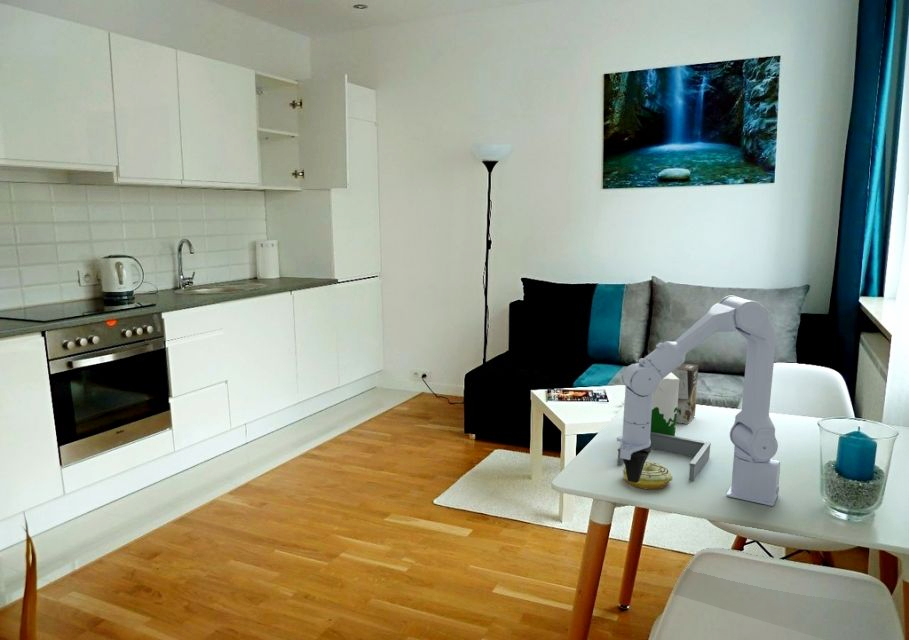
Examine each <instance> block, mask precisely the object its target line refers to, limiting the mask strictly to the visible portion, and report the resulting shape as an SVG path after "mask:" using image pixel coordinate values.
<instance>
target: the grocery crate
mask: <svg viewBox="0 0 909 640" xmlns="http://www.w3.org/2000/svg"><path fill="white" fill-rule="evenodd" d="M650 441H651V445H650V447H648V448H650V449H651V450H656V449H657V450H656V451H663V452H667V453H673V454H677V455H682V456H689V457H692V459H691V461H690V462H689V475H688V476H689V477H688V480H689V481H691V482H694V481H695V480H696V478H697V476H698V475H699V474H700V472H701V471H702V469H703V468H704V466H705V465H706V464H707V462H708V461H709V459H710V456H711V455H710V454H711V453H710V452H711V445H712V442H708V441H703V440H697V439H693V438H688V437H681V436H676V435H675V436H671V435H665V434H660V433H654V432H650ZM621 448H622V446H621V445H620V446H619V447H618V448H617V466H620V467H621V466H623V465H625V464H624V461H623V459H622V458H620V449H621Z"/></svg>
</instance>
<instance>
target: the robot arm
mask: <svg viewBox="0 0 909 640" xmlns="http://www.w3.org/2000/svg"><path fill="white" fill-rule="evenodd" d="M770 312H771V311H770V310H768V309H767V308H766V307H765V306H764V305H763V304H761V303H760V302H759V301H756V300H750V299H745V298H742V297H739V296H736V295H733V294H732V295H727V296H725V297H723V298H722V299H720V301H719V302H717V303H715V304H713V305H712V306H711V307H710V309H709V310H708V311H707V312H706V313H705V314H704V315H703V316H702V317H701V318H699V320H697V321H696V322H695V323H694V324H693V325H692V326H690V328H688V329H687V330H686V331H685V332H684V333H682V334H681V335H680V336H679V337H677V339H675V341H669V340H667V341H666V340H665V341H664V342H661V341H660V342H658V343H657V344H656V345H655V349H654V350H653V351H651V352H650V353H649V354H647V355H646V356H645V357H644V358H642V357H641V358H639V359H638V363H631V364H630V365H628V366H627V367H626V368H625V369H624V372H623V374H622V375H621V381H622V383H623V385H624V386H625V389H624V391H625V392H624V401H623V402H624V403H623V419H622V435H618V436H617V437H616V441H617V442H620V443H621V445H620V447H621V446H622V448H621V449H620V458H622V459H623V461H624V464H623V465H624V466H625V468H626V473H627V479H628V481H631V482H635V483H637V482H638V481H639V479H640V477H641V473H642V470H643V466H644V463H645V462H647V461H646V460H647V459H648V457H649V455H650V453H651V451H652V449H651V448H648V447H650V445H651V441H650V430H651V414H652V396H653V392H655V391H656V390H657V388H658V385H659V382H660V381H661V380H662V379H663V378H664V377H666V376H667V375H668V374H670V373H671V372H672V371H673V370H675V369H676V368H677V367H679V366H680V365H681V364H685V359H686V355H687V353H689V352H690V351H692V350H693V349H695V348H696V347H697V346H699V345H701V344H702V343H703V342H704V341H706V340H708V339H709V338H711V337H712V336H713V335H715V334H716V333H725V332H727V333H729V332H738V333H739V334H740V335H742V336H743V337H744V338H745V340H747V344H746V345H747V346H746V357H745V368H744V380H743V390H742V391H743V392H742V402H741V410H740V411H739V412H738V413H737V414H736V415H735V417H734V422H733V425H732V427H731V428H730V432H729V439H730V441H731V443H732V445H734V447H733V448H734V449H733V460H732V461H733V462H732V463H733V464H732V474H731V475H732V476H731V483H730V484H731V485H730V486H729V489H728V490H727V491H726V493H725V495H726V497H730V498H734V499H738V500H742V501H743V500H744V501H747V502H752V503H757V504H762V505H766V506H770V507H774V505H775V503H776V500H777V497H778V495H779V492H780V486H779V483H780V473H781V461H780V460H776V459H773V457H774V456H775V455H776V454H777V452H778V448H779V445H778V440H777V438H776V428H775V425H774V423H773V421H772V419H771V417H770V407H771V405H770V404H771V396H772V388H773V387H772V383H773V376H774V375H773V374H774V373H773V372H774V366H775V365H774V364H775V354H776V344H777V343H776V342H777V332H776V330H775V328H774V325H773V323H772V321H771V319H770Z"/></svg>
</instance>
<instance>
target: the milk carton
mask: <svg viewBox="0 0 909 640" xmlns="http://www.w3.org/2000/svg"><path fill="white" fill-rule="evenodd" d="M679 380H680V379H679V378H677V377H676V376H675V375H674V374H673V373H670V374H668V375H667V376H666V377H664V378H663V379H662V380H661V381H660V382H659V385H658V388H657V390H656V391H655V392H653V396H652V414H651V430H650V432H654V433H660V434H665V435H671V436H676V429H677V422H676V420H677V405H678V390H679Z"/></svg>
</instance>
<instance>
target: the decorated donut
mask: <svg viewBox="0 0 909 640" xmlns="http://www.w3.org/2000/svg"><path fill="white" fill-rule="evenodd" d="M622 473H623V476H624V477H623V478H624V479H625V480H626V482H627V483H628V484H630V485H631V486H633V485H634V487H636V486H637V487H636V488H639V487H641V488H640V489H644V488H647V489H646V490H658V488H660V489H663V488H665V487H666V486H667V485H668V484H669V483H670V482H671V481H672V480H673V475H672V473H671V471H670V470H669V469H668V467H666V466H664V465H662V464H660V463H659V462H653V461H645V463H644V466H643V470H642V473H641V477H640V479H639V481H638V482H637V483H635V482H631V481H628V479H627V473H626V468H625V465H624V466H623V472H622ZM662 487H663V488H662Z"/></svg>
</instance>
